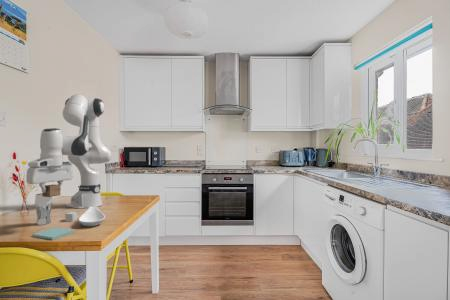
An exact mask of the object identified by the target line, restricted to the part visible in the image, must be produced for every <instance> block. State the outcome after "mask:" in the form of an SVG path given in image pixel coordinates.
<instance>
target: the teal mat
mask: <svg viewBox="0 0 450 300" xmlns="http://www.w3.org/2000/svg"><path fill="white" fill-rule="evenodd" d="M73 233H75V230H74V229H68V228H67V229H66V228H61V227H52V228H49V229H46V230H42V231H39V232H35V233H32V237H33V238H40V239H45V240H51V241H53V240H56V239H59V238H61V237H65V236H67V235H71V234H73Z"/></svg>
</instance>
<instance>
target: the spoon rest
mask: <svg viewBox="0 0 450 300" xmlns="http://www.w3.org/2000/svg"><path fill="white" fill-rule="evenodd" d="M105 218H106V215H105V214H104V213H103V212H102V211H101V209H99V208H98V206H95V207H91V206H90V207H89V208H86V210H85V212H84V213H82V214H81V215H80V216H79V218H78V223H79V224H80V225H82V226H83V227H96V226H99V225H100V224H102V223H103V221H105Z"/></svg>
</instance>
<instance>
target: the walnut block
mask: <svg viewBox="0 0 450 300" xmlns="http://www.w3.org/2000/svg"><path fill="white" fill-rule="evenodd" d="M44 186H45V188H48V190H47V191H48V192H45V193H43V197H52V198H53V197H58V196H61V190H60V185H58V184H47V185H46V184H45V185H44Z"/></svg>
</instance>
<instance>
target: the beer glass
mask: <svg viewBox="0 0 450 300" xmlns="http://www.w3.org/2000/svg"><path fill="white" fill-rule="evenodd" d="M34 205H35V211H36V223H35V225H36V226H46V225H49V224H51V222H52V220H51V211H52V206H53V197H43V193H42V192H41V193H37V194H35V199H34Z"/></svg>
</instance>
